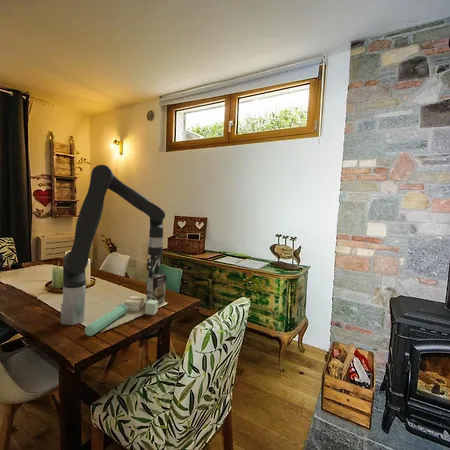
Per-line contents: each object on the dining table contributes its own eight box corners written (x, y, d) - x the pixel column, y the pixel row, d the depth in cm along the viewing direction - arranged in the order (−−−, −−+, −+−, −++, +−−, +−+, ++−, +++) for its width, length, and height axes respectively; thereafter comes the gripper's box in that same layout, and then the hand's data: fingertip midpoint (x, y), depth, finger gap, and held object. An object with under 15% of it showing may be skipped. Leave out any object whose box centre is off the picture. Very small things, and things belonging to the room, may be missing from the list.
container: (91, 324, 112) (125, 302, 137) (80, 326, 114) (116, 305, 138) (95, 337, 112) (129, 313, 137) (84, 340, 114) (119, 315, 138)
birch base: (138, 311, 142) (139, 302, 142) (123, 310, 142) (124, 301, 142) (143, 306, 150) (144, 297, 149) (130, 304, 150) (130, 296, 150)
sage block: (154, 315, 139) (154, 304, 139) (145, 313, 140) (145, 302, 139) (157, 311, 144) (158, 300, 144) (148, 310, 145) (149, 299, 144)
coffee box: (152, 305, 151) (154, 278, 150) (145, 302, 155) (147, 275, 153) (165, 301, 158) (166, 275, 157) (158, 298, 162) (159, 272, 161)
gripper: (153, 242, 146) (151, 271, 148) (143, 247, 132) (141, 278, 134) (166, 244, 146) (165, 273, 147) (157, 248, 131) (155, 280, 133)
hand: (153, 275), depth 140 cm, fingers open, 8 cm apart
